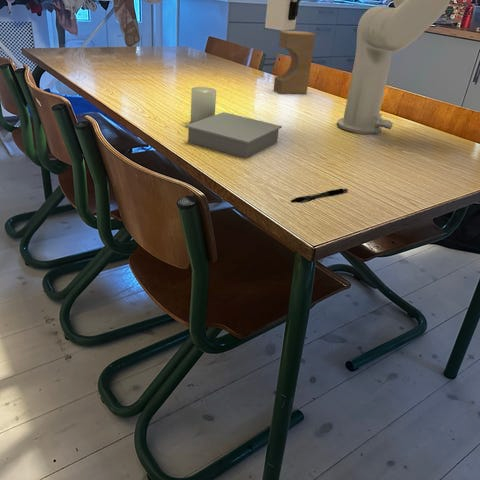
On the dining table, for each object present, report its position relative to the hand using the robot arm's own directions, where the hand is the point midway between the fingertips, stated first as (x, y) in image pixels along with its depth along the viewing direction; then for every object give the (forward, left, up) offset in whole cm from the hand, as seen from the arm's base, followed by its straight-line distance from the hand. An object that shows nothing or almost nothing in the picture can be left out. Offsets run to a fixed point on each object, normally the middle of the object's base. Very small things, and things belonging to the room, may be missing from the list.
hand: (281, 17), depth 119 cm
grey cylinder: (+14, +12, -27) cm, 33 cm away
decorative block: (+14, -44, -28) cm, 54 cm away
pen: (-30, +36, -28) cm, 54 cm away
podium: (0, +19, -27) cm, 33 cm away
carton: (0, 0, -3) cm, 3 cm away
